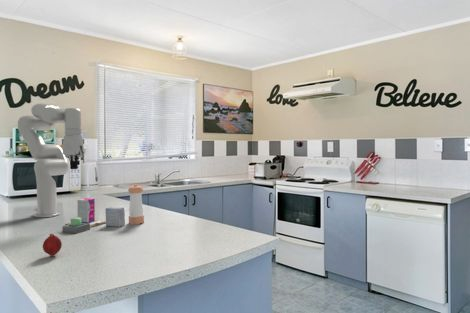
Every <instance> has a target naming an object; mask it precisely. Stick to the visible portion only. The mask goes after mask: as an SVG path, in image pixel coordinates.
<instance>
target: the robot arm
mask: <svg viewBox="0 0 470 313" xmlns="http://www.w3.org/2000/svg"><path fill="white" fill-rule="evenodd" d="M30 111H31V115H23V116H20V117H19V118H18V120H17V129H18V132H19V134H20V136H21V137H22V138H23V140H24V141H25V143H26V145H27V147H28V151H29V153H30V155H31V156H32V157H31V158H32V159H33V160H34V161H35V163H34V165H33V170H34V173H35V180H36V203H37V204H36V205H37V206H36V208H34V212H36V213H34V217H35V218H50V217H52V218H53V217H57V216H60V214H61V212H60V211H58V207H57V206H58V201H57V200H58V199H57V198H58V197H57V183H56V180H55V179H54V178H53V176H61V175H62V176H63V175H67V174H68V173H69V170H77V169H78V168H79V163H78V161H80V158H83V154H84V152H85V151H84V150H85V149H84V139H83V136H82V112H81V109H79V108H76V107H69V108H68V107H66V108H60V107H59V106H58V105H56V104H48V103H36V104H34V105H33V106H32V107H31V110H30ZM56 124H64V135H63V139H62V147H61V146H60V145H58V144H57V143H56V144H55V143H46V142H45V140H44V139H43V137H42V135H40V134H39V133H38V132H36V131H41V132H42V131H43V132H44V131H45V132H47V131H50V130H52V129H53V128H54V126H55V125H56ZM68 161H69V162H68ZM69 163H70V164H69ZM69 165H70V166H69Z"/></svg>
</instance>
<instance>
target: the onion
mask: <svg viewBox="0 0 470 313" xmlns="http://www.w3.org/2000/svg"><path fill="white" fill-rule="evenodd" d="M61 240H62V239H60V238H59V236H57V235H55V234H54V233H49V236H48V237H46V239H45V240H44V241H43V243H42V250H43V252H44V253H45V254H47V255H49V256H50V257H55V256H56V254H58V253H59V252H60V250H61V248H62V247H63V246H62V245H63V244H62V241H61Z"/></svg>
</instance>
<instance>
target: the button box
mask: <svg viewBox="0 0 470 313" xmlns="http://www.w3.org/2000/svg"><path fill="white" fill-rule="evenodd" d="M61 229H62V233H69V234H78V233H82V232H85V231H89V230H90V229H91V228H90V224H86V223H82V225H80V226H77V227H74V226H71V224H69V225H62V227H61Z"/></svg>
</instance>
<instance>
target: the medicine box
mask: <svg viewBox="0 0 470 313" xmlns="http://www.w3.org/2000/svg"><path fill="white" fill-rule="evenodd" d="M104 211H105V222H106V223H105V226H106V227H119V228H121V227H123V226H125V224H126V220H125V217H126V215H125V212H126V211H125V207H120V206H108V207H105V210H104ZM120 226H121V227H120Z"/></svg>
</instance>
